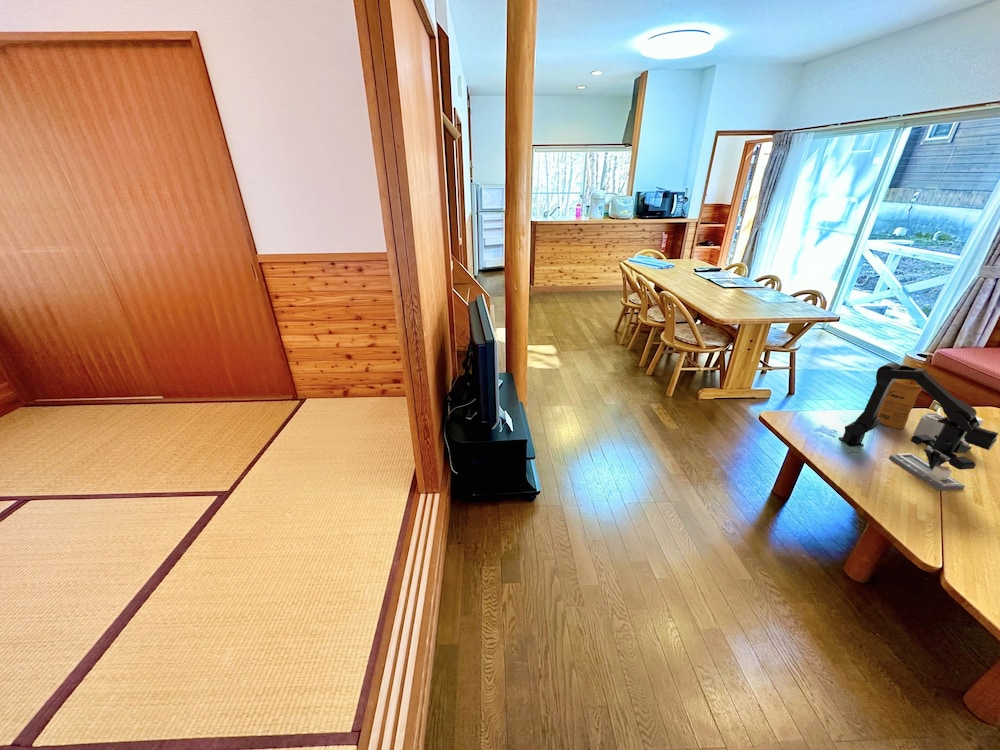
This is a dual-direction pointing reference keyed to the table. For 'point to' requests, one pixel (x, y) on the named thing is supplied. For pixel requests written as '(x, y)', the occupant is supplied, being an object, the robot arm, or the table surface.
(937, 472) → the fader knob
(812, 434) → the table surface
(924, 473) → the fader console
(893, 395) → the coffee package
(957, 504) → the table surface
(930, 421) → the can
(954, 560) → the table surface
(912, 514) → the table surface
